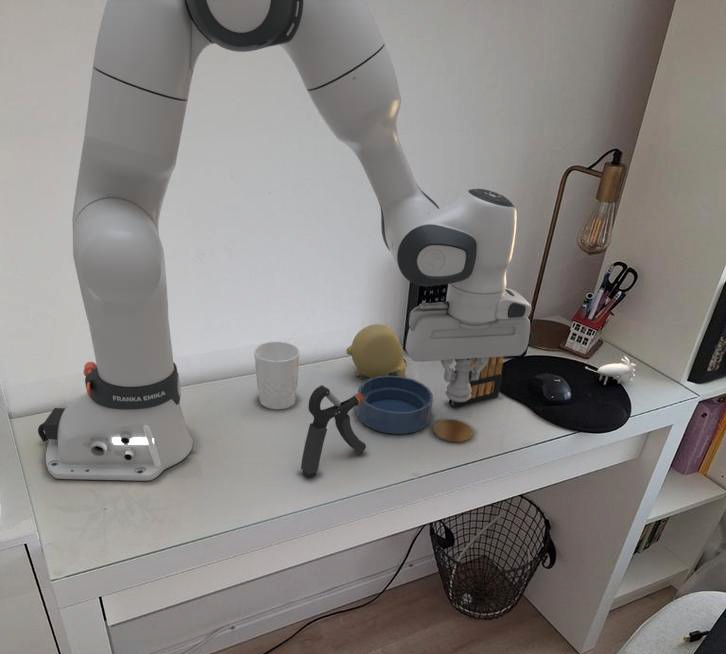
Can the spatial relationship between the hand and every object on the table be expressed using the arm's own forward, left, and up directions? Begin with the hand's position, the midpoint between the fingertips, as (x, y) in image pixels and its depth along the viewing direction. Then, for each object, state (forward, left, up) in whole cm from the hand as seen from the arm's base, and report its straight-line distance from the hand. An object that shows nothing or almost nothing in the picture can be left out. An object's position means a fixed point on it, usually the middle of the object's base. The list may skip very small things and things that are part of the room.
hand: (461, 379), depth 115 cm
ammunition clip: (+8, +10, -11) cm, 17 cm away
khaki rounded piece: (-8, +22, -11) cm, 26 cm away
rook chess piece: (0, 0, -4) cm, 4 cm away
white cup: (-29, +15, -11) cm, 34 cm away
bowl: (-9, +7, -10) cm, 16 cm away
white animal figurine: (+38, +13, -11) cm, 42 cm away
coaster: (0, 0, -10) cm, 10 cm away
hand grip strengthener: (-23, -6, -11) cm, 26 cm away
